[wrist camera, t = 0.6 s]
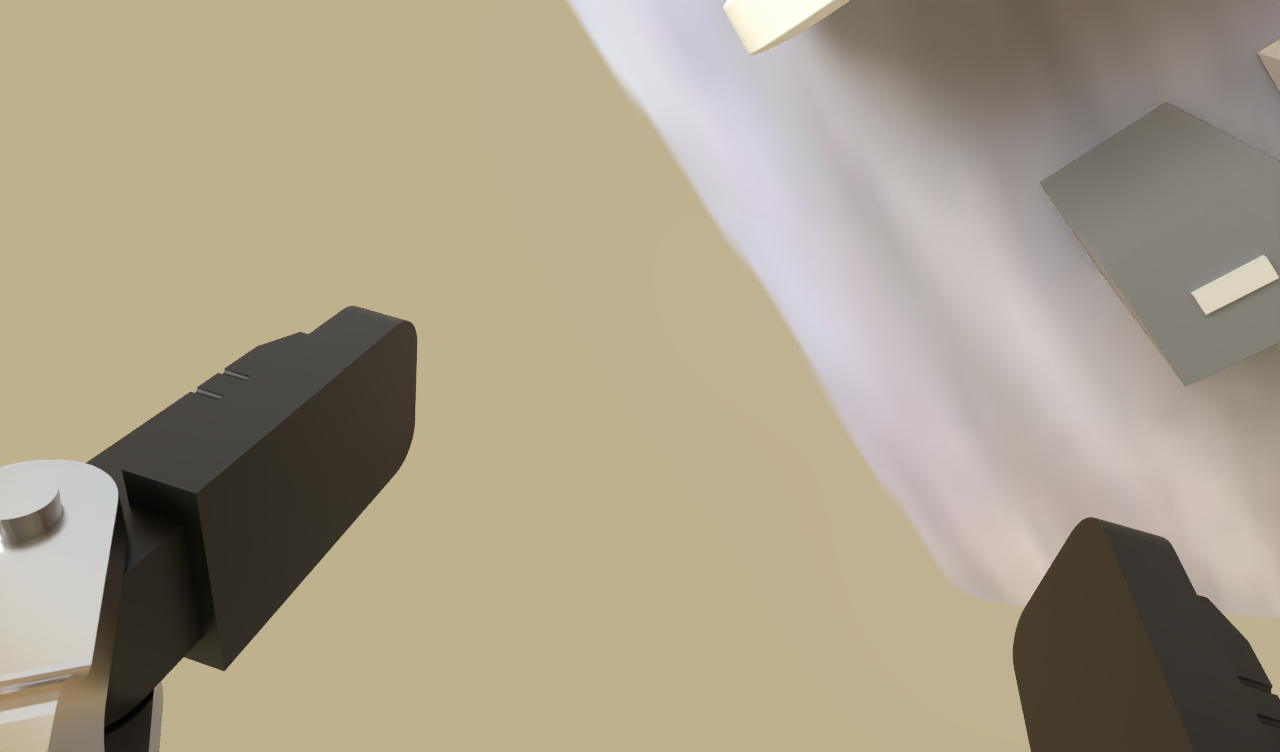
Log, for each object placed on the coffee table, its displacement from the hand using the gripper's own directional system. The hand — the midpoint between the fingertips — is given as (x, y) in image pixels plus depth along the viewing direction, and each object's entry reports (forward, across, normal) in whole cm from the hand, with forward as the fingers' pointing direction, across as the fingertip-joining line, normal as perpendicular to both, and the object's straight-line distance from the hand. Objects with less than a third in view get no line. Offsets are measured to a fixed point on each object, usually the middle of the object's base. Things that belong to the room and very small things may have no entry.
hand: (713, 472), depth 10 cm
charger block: (+24, -12, 0) cm, 27 cm away
